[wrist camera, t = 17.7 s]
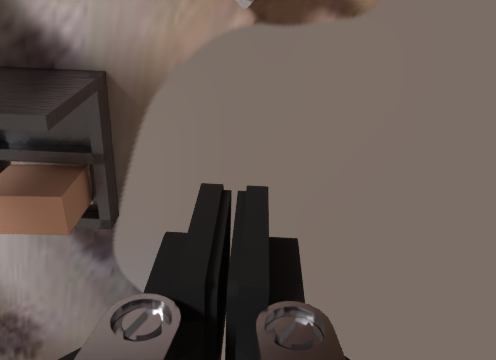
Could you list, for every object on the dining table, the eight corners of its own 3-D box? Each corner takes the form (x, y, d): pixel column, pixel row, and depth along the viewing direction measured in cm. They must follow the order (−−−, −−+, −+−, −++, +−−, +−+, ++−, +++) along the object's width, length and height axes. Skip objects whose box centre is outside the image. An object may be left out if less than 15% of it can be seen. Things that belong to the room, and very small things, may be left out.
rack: (6, 210, 46) (-73, 290, 35) (-25, 65, 40) (-132, 107, 29) (119, 216, 46) (73, 298, 35) (105, 71, 40) (45, 115, 29)
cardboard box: (18, 199, 44) (-16, 233, 39) (10, 164, 42) (-27, 195, 37) (92, 200, 44) (68, 234, 38) (87, 165, 42) (61, 196, 37)
